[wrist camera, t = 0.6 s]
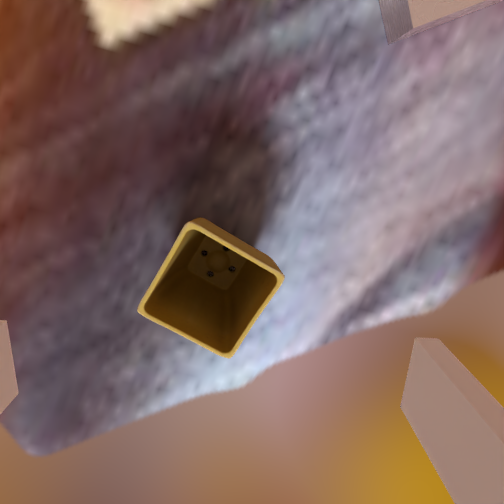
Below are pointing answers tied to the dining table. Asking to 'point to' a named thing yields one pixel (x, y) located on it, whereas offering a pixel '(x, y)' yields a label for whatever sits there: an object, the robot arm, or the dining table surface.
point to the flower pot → (211, 288)
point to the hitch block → (424, 14)
